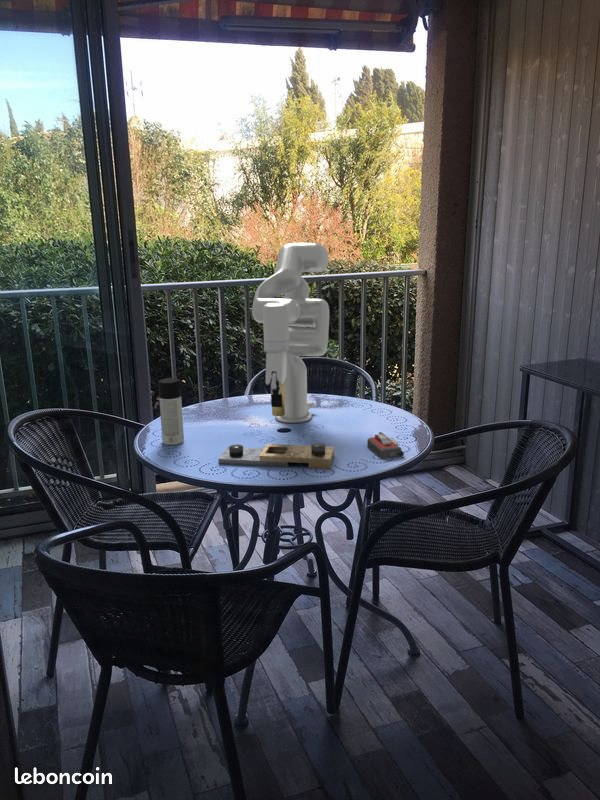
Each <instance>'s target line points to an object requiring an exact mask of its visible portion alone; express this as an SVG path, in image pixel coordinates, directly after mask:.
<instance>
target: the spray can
mask: <svg viewBox="0 0 600 800" xmlns="http://www.w3.org/2000/svg"><path fill="white" fill-rule="evenodd" d="M157 385H158V399H159V410H160V412H159V413H160V414H159V415H160V424H161V425H160V426H161V427H160V428H161V437H162V443H163V445H167V446H177V444H178V445H181V444H182V443H184V440H185V437H184V435H185V434H184V433H185V432H184V422H183V421H184V420H183V406H182V402H183V401H182V391H181V379H179V378H177V377H167V378H163V379H160V380H158V384H157Z"/></svg>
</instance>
